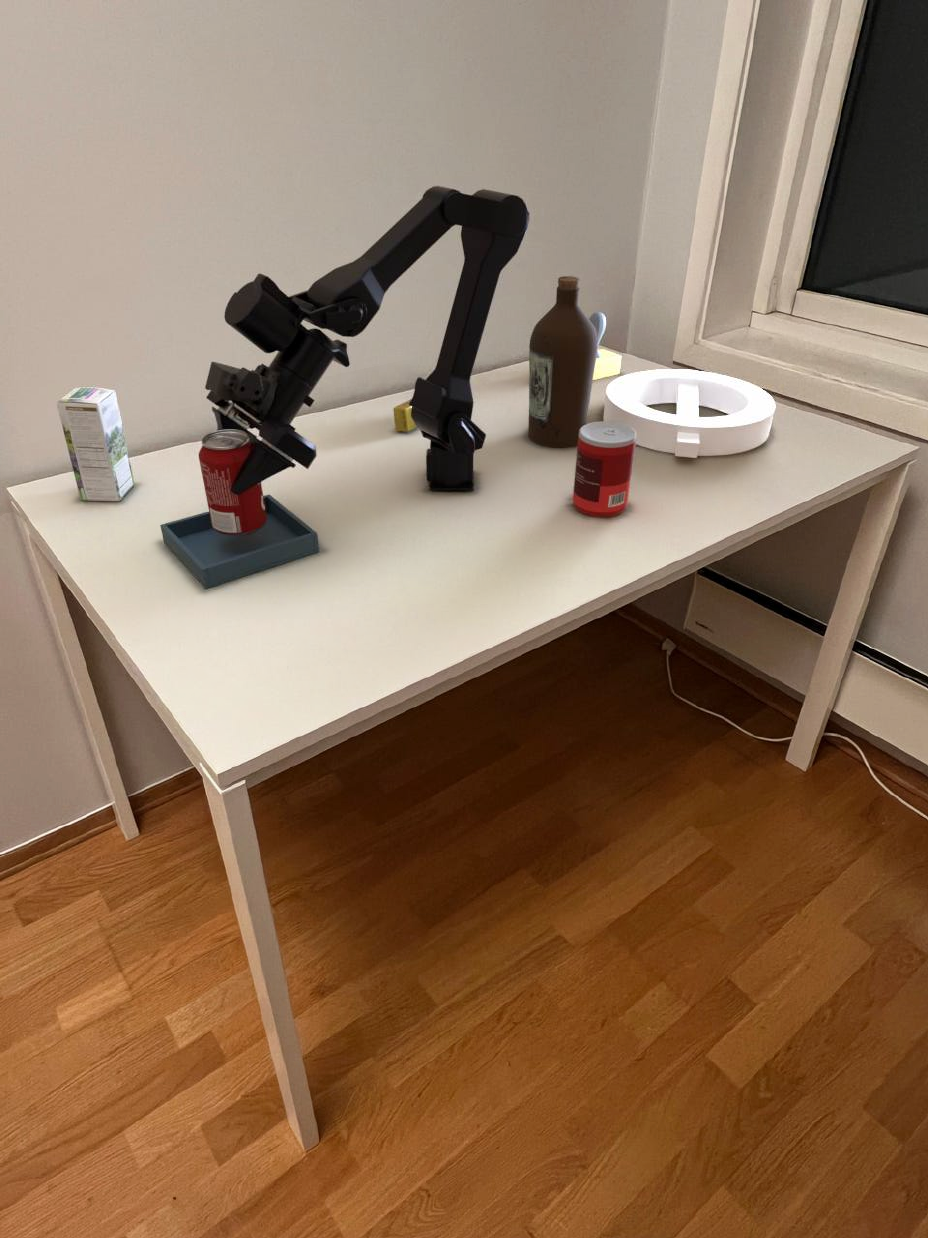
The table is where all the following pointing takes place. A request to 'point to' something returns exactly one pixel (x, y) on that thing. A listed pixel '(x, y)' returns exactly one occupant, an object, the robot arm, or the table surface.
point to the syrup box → (96, 443)
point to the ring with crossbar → (691, 411)
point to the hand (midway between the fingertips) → (221, 482)
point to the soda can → (230, 484)
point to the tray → (239, 545)
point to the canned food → (603, 468)
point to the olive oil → (561, 370)
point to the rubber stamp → (604, 351)
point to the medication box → (403, 417)
